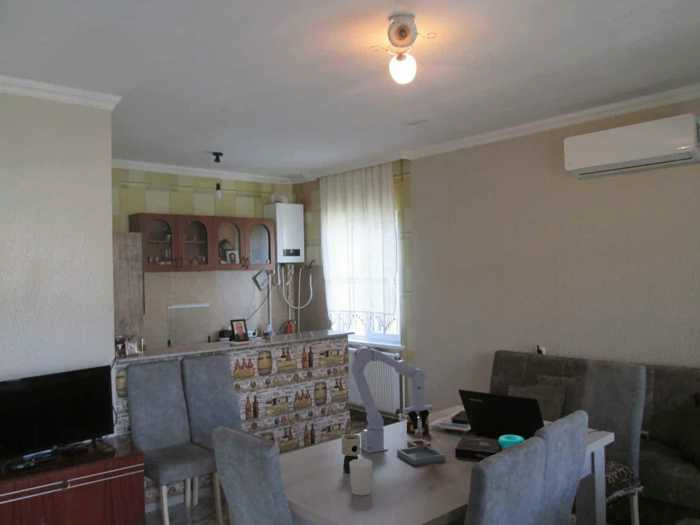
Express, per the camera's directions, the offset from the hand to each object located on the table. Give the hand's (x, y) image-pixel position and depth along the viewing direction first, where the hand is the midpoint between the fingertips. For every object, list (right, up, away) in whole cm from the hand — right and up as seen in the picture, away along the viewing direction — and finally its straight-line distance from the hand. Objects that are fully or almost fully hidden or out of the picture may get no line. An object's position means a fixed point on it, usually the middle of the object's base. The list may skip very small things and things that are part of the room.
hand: (418, 428), depth 239 cm
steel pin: (0, -3, 0) cm, 3 cm away
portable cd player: (+24, -8, -10) cm, 27 cm away
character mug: (-29, -8, -28) cm, 41 cm away
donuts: (+34, -7, -23) cm, 41 cm away
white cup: (-26, -8, -49) cm, 55 cm away
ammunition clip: (+2, -9, +20) cm, 22 cm away
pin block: (0, -8, 0) cm, 8 cm away
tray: (-1, -8, -15) cm, 17 cm away
